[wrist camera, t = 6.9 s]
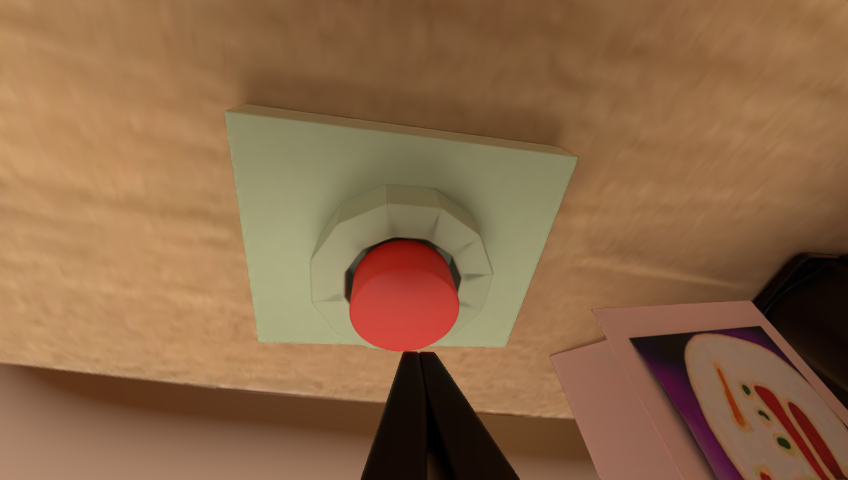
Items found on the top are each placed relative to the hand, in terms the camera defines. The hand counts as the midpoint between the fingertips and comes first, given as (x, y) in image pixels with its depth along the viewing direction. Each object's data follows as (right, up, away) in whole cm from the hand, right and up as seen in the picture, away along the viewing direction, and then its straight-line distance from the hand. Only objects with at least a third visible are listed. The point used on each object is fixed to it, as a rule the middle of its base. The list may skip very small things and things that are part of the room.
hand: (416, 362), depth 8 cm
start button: (-1, +2, +3) cm, 4 cm away
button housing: (-1, +3, +6) cm, 7 cm away
